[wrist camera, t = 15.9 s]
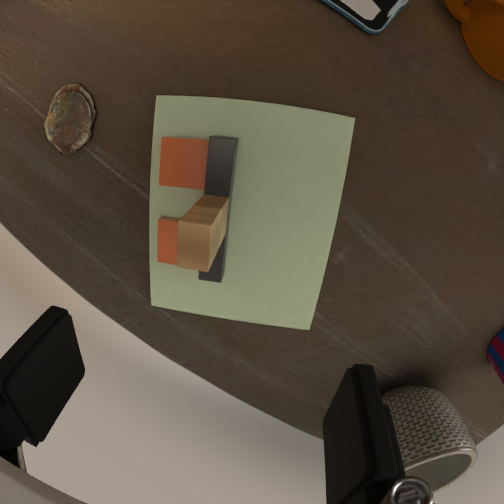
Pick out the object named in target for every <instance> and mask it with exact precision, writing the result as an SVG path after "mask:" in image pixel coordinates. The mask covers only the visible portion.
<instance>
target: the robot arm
mask: <svg viewBox="0 0 504 504" xmlns="http://www.w3.org/2000/svg"><path fill="white" fill-rule="evenodd" d="M84 374H85V367H84V364H83V360H82V357H81V353H80V349H79V345H78V342H77V338H76V334H75V329H74V325H73V321H72V317H71V315H69V313H68V311H67V310H66V309H63V308H60V307H57V306H51V307H50V308H49V309H47V310H46V311H45V312H44V314H42V315H41V316H40V317H39V319H38V320H37V321H36V322H35V323H34V324H33V325H32V326H31V327H30V328H29V329H28V330H27V331H26V332H25V333H24V334H23V335H22V336H21V337H20V338H19V339H18V340H17V342H16V343H15V344H14V345H13V346H12V347H11V348H10V349H9V350H8V351H7V352H6V353H5V355H4V356H3V357H2V358H1V359H0V504H87V503H84V502H82V501H80V500H77V499H75V498H73V497H71V496H69V495H67V494H65V493H63V492H61V491H59V490H57V489H55V488H53V487H51V486H49V485H47V484H45V483H43V482H42V481H40V480H38V479H36V478H34V477H33V476H31V475H29V474H28V473H27V470H26V466H25V461H24V456H23V451H22V445H21V444H22V442H23V441H24V440H25V441H26V442H28V443H30V444H31V445H33V446H35V447H37V445H38V444H39V442H42V441H44V439H45V438H46V436H47V434H48V433H49V431H50V429H51V427H52V426H53V424H54V423H55V421H56V419H57V418H58V416H59V415H60V413H61V411H62V410H63V408H64V406H65V405H66V403H67V401H68V400H69V399H70V397H71V395H72V394H73V392H74V391H75V389H76V388H77V386H78V385H79V383H80V381H81V380H82V378H83V377H84ZM323 436H324V453H325V472H326V473H325V474H326V498H327V499H326V500H327V504H434V503H433V492H432V489H431V487H430V486H429V484H428V483H427V482H426V481H424V480H423V479H421V478H419V477H416V476H407V477H406V474H405V469H404V465H403V460H402V455H401V451H400V447H399V442H398V438H397V434H396V430H395V426H394V422H393V418H392V414H391V410H390V408H389V406H388V405H387V404H383V402H382V398H381V394H380V391H379V387H378V383H377V379H376V376H375V372H374V368H373V366H372V365H365V364H354V365H353V367H352V368H347V370H346V372H345V374H344V376H343V379H342V381H341V383H340V385H339V387H338V390H337V392H336V394H335V396H334V398H333V400H332V402H331V404H330V406H329V408H328V410H327V412H326V414H325V417H324V420H323Z"/></svg>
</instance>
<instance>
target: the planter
mask: <svg viewBox="0 0 504 504" xmlns="http://www.w3.org/2000/svg"><path fill="white" fill-rule="evenodd" d="M381 398H382V402H383V404H387V405H388V406H389V408H390V410H391V414H392V418H393V422H394V426H395V430H396V434H397V438H398V442H399V447H400V451H401V455H402V460H403V465H404V469H405V474H406V477H407V476H416V477H419V478H421V479H423V480H424V481H426V482H427V483H428V484H429V486H430V487H431V489H432V492H433V494H434V493H436V492H438V491H440V490H442V489H444V488H446V487H447V486H449V485H451V484H452V483H454V482H455V481H457V480H458V479H460V478H461V477H462V476H463V475H465V474H466V473H467V472H468V471H469V470H470V469H471V468H472V466H473V465H474V463H475V462H476V460H477V450H476V446H475V444H474V442H473V440H472V438H471V436H470V434H469V432H468V430H467V428H466V426H465V424H464V422H463V421H462V419H461V417H460V415H459V414H458V412H457V410H456V409H455V407H454V406H453V404H452V403H451V401H450V400H449V399H448V398H447V397H446V396H445V395H444V394H443V393H442V392H440V391H439V390H437V389H434V388H430V387H417V386H413V385H406V386H401V387H397V388H395V389H392V390H390V391H389V392H387V393H385V394H384V395H383V396H382V397H381Z"/></svg>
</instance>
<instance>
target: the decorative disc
mask: <svg viewBox="0 0 504 504" xmlns="http://www.w3.org/2000/svg"><path fill="white" fill-rule="evenodd" d="M95 113H96V112H95V110H94V105H93V100H92V99H91V96H90V94H89V93H88V92H87V91H85V90H84V88H83V87H82V86H80V85H77V84H72V85H66V86H64V87H62V88H61V89H60V90H59V91H58V92H57V93H56V95H55V97H54V98H53V100H52V102H51V104H50V107H49V111H48V116H47V119H46V120H45V123H44V132H45V136H46V139H47V141H51V142H52V143H53V144H54V145H55V146H56V147H57V151H59V152H60V154H61V155H62V156H63V155H71V154H73V153H74V152H75V151H76V150H79V149H80V148H81V147H82V145H83V144H84V143H86V142H87V141H88V139H90V136H91V131H90V128H91V126H92V124H93V121H94V118H95Z"/></svg>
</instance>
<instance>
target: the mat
mask: <svg viewBox="0 0 504 504" xmlns="http://www.w3.org/2000/svg"><path fill="white" fill-rule="evenodd" d="M354 122H355V118H352V117H348V116H343V115H338V114H333V113H328V112H323V111H318V110H312V109H306V108H300V107H294V106H288V105H281V104H273V103H266V102H257V101H248V100H238V99H227V98H214V97H198V96H170V95H157V96H156V106H155V116H154V128H153V141H152V157H151V177H150V211H149V256H150V290H151V305H152V306H157V307H162V308H167V309H173V310H178V311H184V312H189V313H195V314H201V315H206V316H212V317H219V318H225V319H231V320H238V321H244V322H251V323H258V324H265V325H273V326H280V327H288V328H296V329H305V330H309V329H310V326H311V322H312V319H313V315H314V311H315V307H316V304H317V300H318V296H319V292H320V288H321V284H322V280H323V276H324V272H325V268H326V264H327V260H328V255H329V251H330V247H331V242H332V238H333V234H334V229H335V224H336V220H337V215H338V210H339V205H340V200H341V195H342V190H343V185H344V180H345V175H346V169H347V164H348V158H349V152H350V147H351V141H352V135H353V128H354ZM213 135H218V136H228V137H238V138H239V139H238V148H237V156H236V165H235V174H234V183H233V192H232V201H231V211H230V220H229V230H228V240H227V250H226V260H225V271H224V276H223V279H222V281H221V283H217V282H211V281H204V280H199V279H198V276H199V271H198V270H191V269H185V268H179V267H177V265H173V264H167V263H161V262H158V261H157V232H158V219H159V218H160V217H170V218H178V219H181V218H182V217H183V216H184V215H185V214H186V213H187V212H188V210H189V209H190V208H191V207H192V206H193V205H194V204H195V203H196V202H197V201H198V200H199V199H200V198H201V197H202V196H203V195H204V190H199V189H190V188H181V187H171V186H161V185H159V169H160V152H161V138H162V137H165V136H169V137H185V138H199V139H209V137H210V136H213Z"/></svg>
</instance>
